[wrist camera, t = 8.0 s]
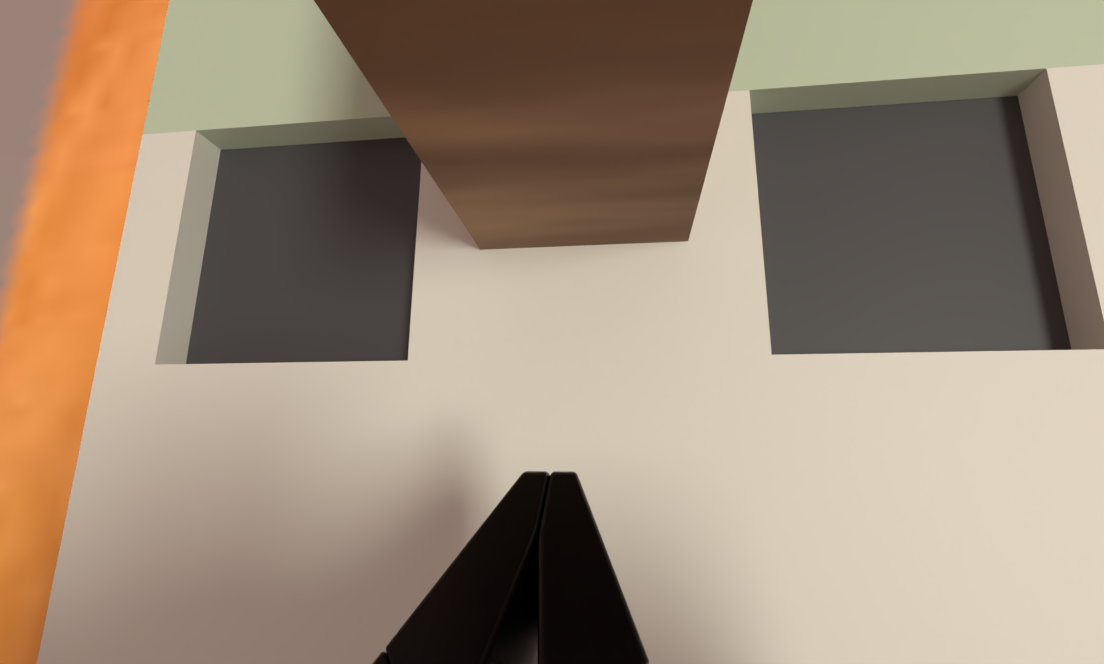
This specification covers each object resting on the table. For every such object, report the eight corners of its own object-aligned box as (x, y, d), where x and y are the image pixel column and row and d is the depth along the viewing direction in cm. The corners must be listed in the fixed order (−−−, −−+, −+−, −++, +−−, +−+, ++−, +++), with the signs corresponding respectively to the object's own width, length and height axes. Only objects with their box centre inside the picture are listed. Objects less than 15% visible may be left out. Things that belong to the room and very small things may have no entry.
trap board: (1260, 821, 13) (1341, 867, 11) (71, 731, 16) (18, 756, 15) (1008, -214, 20) (1038, -268, 18) (225, -112, 24) (199, -149, 22)
